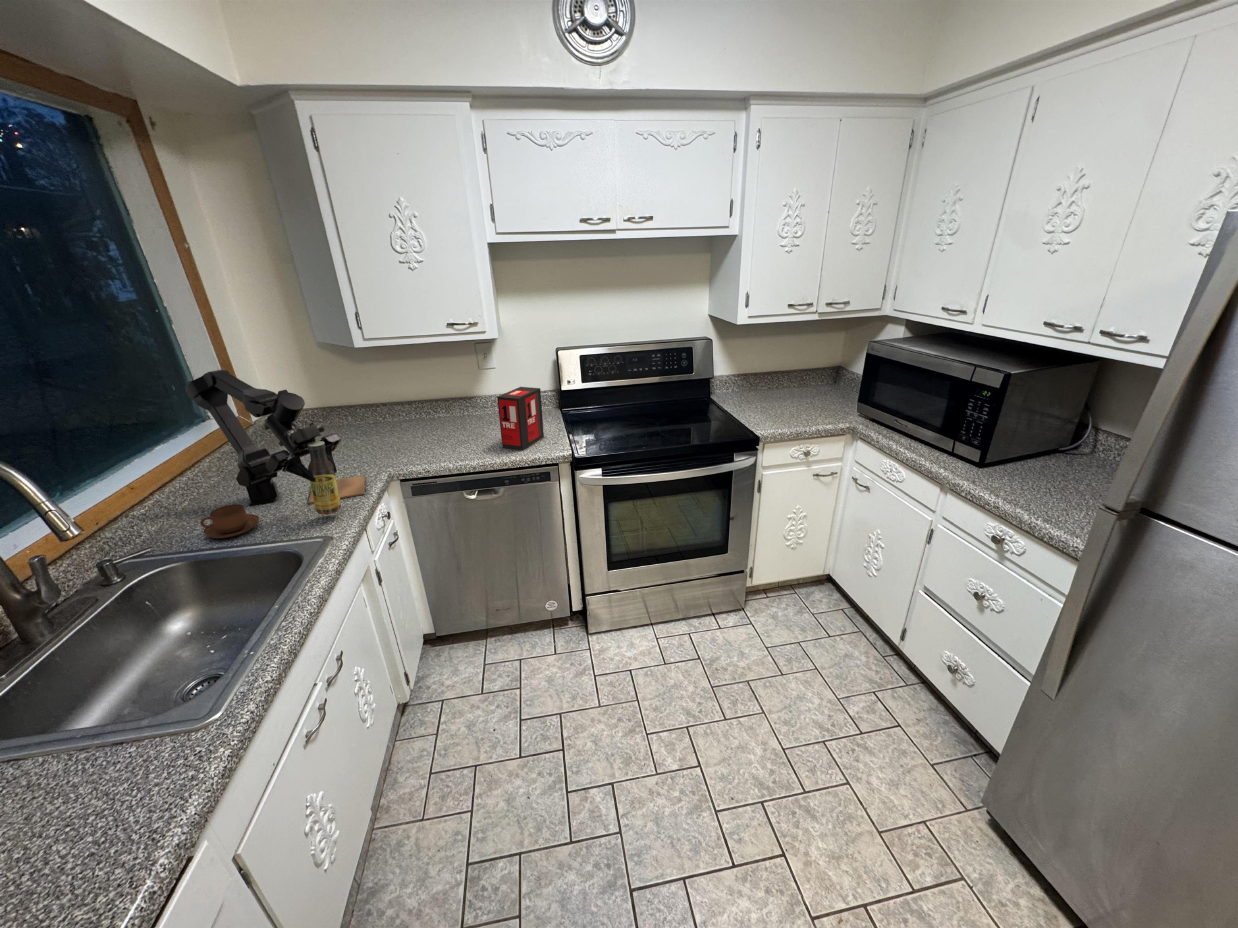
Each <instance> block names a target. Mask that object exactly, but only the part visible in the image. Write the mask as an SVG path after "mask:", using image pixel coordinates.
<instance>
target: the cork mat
mask: <svg viewBox="0 0 1238 928" xmlns="http://www.w3.org/2000/svg"><path fill="white" fill-rule="evenodd" d="M365 476H366V475H359V476H353V477H347V478H346V477H345V478H340V479H336V481H337V486H338V491H339V496H340V500H342V499H347V498H353V497H360V496H365V489H366V488H365V486H366V485H365V484H366V477H365ZM307 504H308V505H312V504H314V500H313V495H312V490H311V489H310V493H309V499H308V502H307Z"/></svg>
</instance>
